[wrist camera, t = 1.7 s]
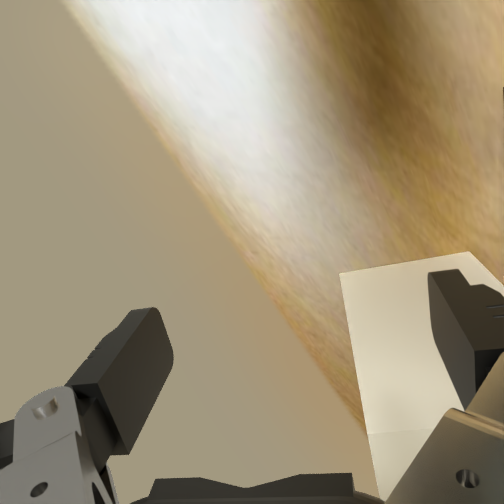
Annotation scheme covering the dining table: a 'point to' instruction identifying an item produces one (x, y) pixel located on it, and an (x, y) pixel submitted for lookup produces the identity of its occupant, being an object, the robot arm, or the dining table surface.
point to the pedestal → (401, 357)
